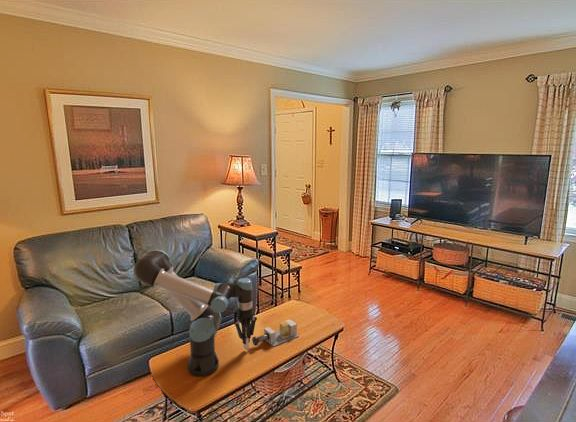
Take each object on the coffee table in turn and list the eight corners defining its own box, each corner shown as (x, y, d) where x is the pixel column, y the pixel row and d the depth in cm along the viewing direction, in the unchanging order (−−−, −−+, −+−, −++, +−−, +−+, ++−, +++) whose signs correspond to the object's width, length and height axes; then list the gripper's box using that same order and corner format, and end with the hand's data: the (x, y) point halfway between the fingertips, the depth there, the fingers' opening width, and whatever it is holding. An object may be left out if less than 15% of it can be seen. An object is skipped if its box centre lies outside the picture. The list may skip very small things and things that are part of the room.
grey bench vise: (273, 347, 187) (273, 335, 186) (262, 338, 196) (262, 326, 195) (298, 336, 198) (298, 325, 196) (287, 328, 207) (287, 317, 205)
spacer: (283, 337, 195) (283, 326, 194) (279, 334, 199) (279, 323, 197) (289, 335, 198) (289, 323, 197) (285, 331, 201) (285, 321, 200)
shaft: (256, 347, 185) (256, 339, 184) (252, 343, 188) (252, 335, 187) (275, 339, 192) (275, 332, 191) (270, 336, 195) (270, 328, 194)
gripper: (237, 314, 172) (238, 356, 177) (259, 306, 180) (260, 347, 184) (230, 308, 178) (232, 349, 183) (252, 301, 186) (253, 341, 190)
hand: (246, 348), depth 183 cm, fingers closed
